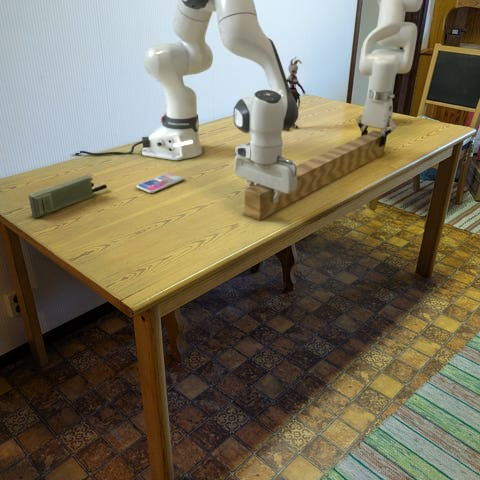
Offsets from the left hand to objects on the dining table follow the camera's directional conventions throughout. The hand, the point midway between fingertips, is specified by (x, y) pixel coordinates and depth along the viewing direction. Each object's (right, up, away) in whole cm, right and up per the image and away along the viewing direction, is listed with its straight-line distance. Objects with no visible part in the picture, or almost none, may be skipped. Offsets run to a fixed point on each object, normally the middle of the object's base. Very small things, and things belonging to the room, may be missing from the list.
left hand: (263, 198), depth 145 cm
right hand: (+43, +24, +43) cm, 65 cm away
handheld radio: (-57, -1, +6) cm, 57 cm away
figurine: (+14, +36, +73) cm, 83 cm away
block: (+21, +8, +24) cm, 33 cm away
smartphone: (-33, +6, +19) cm, 38 cm away
